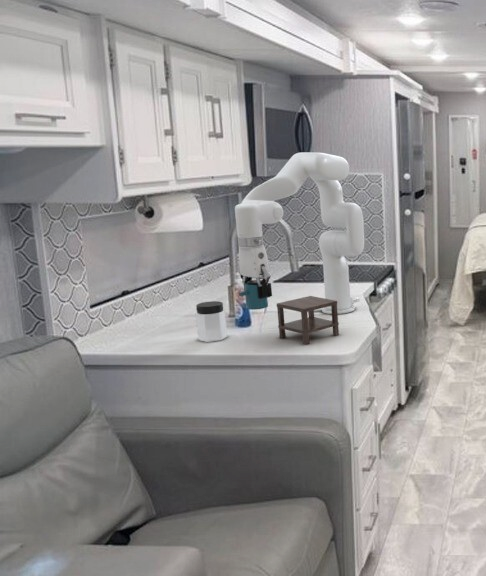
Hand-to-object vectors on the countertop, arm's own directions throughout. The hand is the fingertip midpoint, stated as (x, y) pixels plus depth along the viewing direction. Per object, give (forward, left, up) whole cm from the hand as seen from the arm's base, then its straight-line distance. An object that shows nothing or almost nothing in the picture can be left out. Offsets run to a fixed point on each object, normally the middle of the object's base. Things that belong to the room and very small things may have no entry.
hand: (256, 295), depth 217 cm
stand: (-14, +8, -16) cm, 22 cm away
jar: (+6, -17, -16) cm, 24 cm away
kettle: (0, 0, -4) cm, 4 cm away
